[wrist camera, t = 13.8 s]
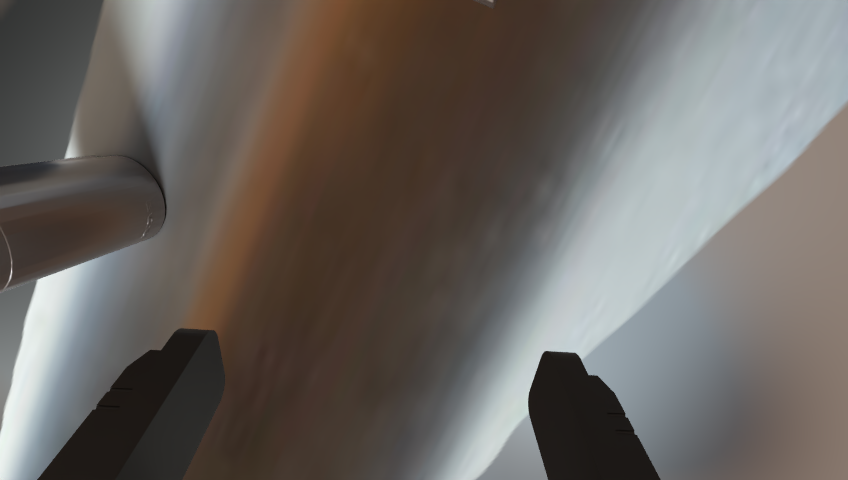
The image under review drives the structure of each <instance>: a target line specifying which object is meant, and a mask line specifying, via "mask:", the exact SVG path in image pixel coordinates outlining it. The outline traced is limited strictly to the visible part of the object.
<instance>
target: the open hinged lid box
mask: <svg viewBox="0 0 848 480" xmlns="http://www.w3.org/2000/svg"><path fill="white" fill-rule="evenodd" d="M474 1H476V2H479V3H481V4H483V5H486V6H488V7H491V8H493V9H494V7H495V4H496V2H497V0H474Z"/></svg>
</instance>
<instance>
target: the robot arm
mask: <svg viewBox="0 0 848 480" xmlns="http://www.w3.org/2000/svg"><path fill="white" fill-rule="evenodd" d="M164 218H165V204H164V199H163V196H162V193H161V190H160V188H159V186H158V184H157V182H156V181H155V179H154V178H153V177H152V175H151V174H150V173H149V172H148V171H147V170H146V169H145V168H144V167H143V166H142V165H140V164H139V163H137V162H136V161H134V160H132V159H130V158H128V157H123V156H105V157H96V156H85V157H76V158H68V159H60V160H52V161H43V162H35V163H27V164H18V165H9V166H2V167H0V293H2V292H5V291H7V290H10V289H12V288H15V287H18V286H21V285H24V284H26V283H29V282H32V281H35V280H37V279H40V278H43V277H46V276H48V275H51V274H54V273H57V272H59V271H62V270H65V269H67V268H70V267H73V266H76V265H78V264H81V263H84V262H87V261H89V260H92V259H95V258H98V257H100V256H103V255H106V254H108V253H111V252H114V251H117V250H120V249H122V248H125V247H128V246H130V245H133V244H136V243H139V242H141V241H144V240H147V239H149V238H151V237H153V236H154V235H156V234H157V233H158V232H159V230H160V229H161V227H162V225H163V222H164ZM224 386H225V373H224V367H223V362H222V357H221V352H220V346H219V341H218V336H217V333H216V332H215V331H214V330H198V329H182V328H181V329H178V330H177V331H175V332H174V334H173V335H172V336H171V338H170V339H169V340H168V342H167V343H166V344H165V346H164V347H163V349H162V350H161V351H160V350H150V351H148V352H147V353H145V354H144V355H143V356H141V357H140V358H139V359H137V360H136V361H134V362H133V363H132V364H130V365H129V366H128V367H126V369H125V370H124V371H123V372H122V374H121V375H120V376H119V378H118V379H117V380H116V381H115V383H114V384H113V385H112V386H111V389H110V391H109V392H107V393H106V394H105V395H104V396H103V398H102V399H101V400H100V401H99V403H98V404H97V407H96V409H95V410H92V412H91V413H90V414H89V415H88V417H87V418H86V419H85V420H84V422H83V423H82V424H81V425H80V427H79V428H78V429H77V430H76V432H75V433H74V434H73V435H72V437H71V438H70V439H69V440H68V442H67V443H66V444H65V446H64V447H63V448H62V449H61V451H60V452H59V453H58V454H57V456H56V457H55V458H54V459H53V461H52V462H51V463H50V464H49V466H48V467H47V468H46V469H45V471H44V472H43V473H42V474H41V476H40V477H39V478H38V479H37V480H182V479H183V477H184V475H185V473H186V471H187V469H188V467H189V465H190V463H191V461H192V458H193V456H194V454H195V452H196V450H197V448H198V446H199V444H200V442H201V440H202V438H203V436H204V434H205V432H206V430H207V428H208V426H209V423H210V421H211V419H212V417H213V415H214V413H215V411H216V409H217V407H218V405H219V403H220V401H221V398H222V395H223V391H224ZM528 407H529V415H530V419H531V422H532V426H533V429H534V433H535V436H536V440H537V443H538V446H539V450H540V453H541V456H542V460H543V463H544V467H545V470H546V473H547V477H548V480H660V478H659V476H658V474H657V472H656V470H655V468H654V466H653V465H652V463H651V461H650V459H649V457H648V455H647V454H646V451H645V449H644V448H643V446H642V444H641V442H640V440H639V438H638V437H637V435H635V434H634V429H633V427H632V425H631V423H630V421H629V419H628V418H626V417H625V412H624V410H623V408H622V406H621V404H620V403H619V401H618V399H617V397H616V395H615V393H614V392H613V391H612V390H610V388H609V387H608V386H607V385H606V384H605V383H604V382H603V381H602V380H601V379H600V378H599V377H598V376H592V375H588V373H587V371H586V369H585V367H584V365H583V363H582V361H581V359H580V357H579V356H578V355H577V354H576V353H568V352H551V351H545V352H544V353H543V354H542V357H541V359H540V362H539V365H538V368H537V371H536V374H535V377H534V380H533V383H532V386H531V389H530V392H529V398H528Z"/></svg>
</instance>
